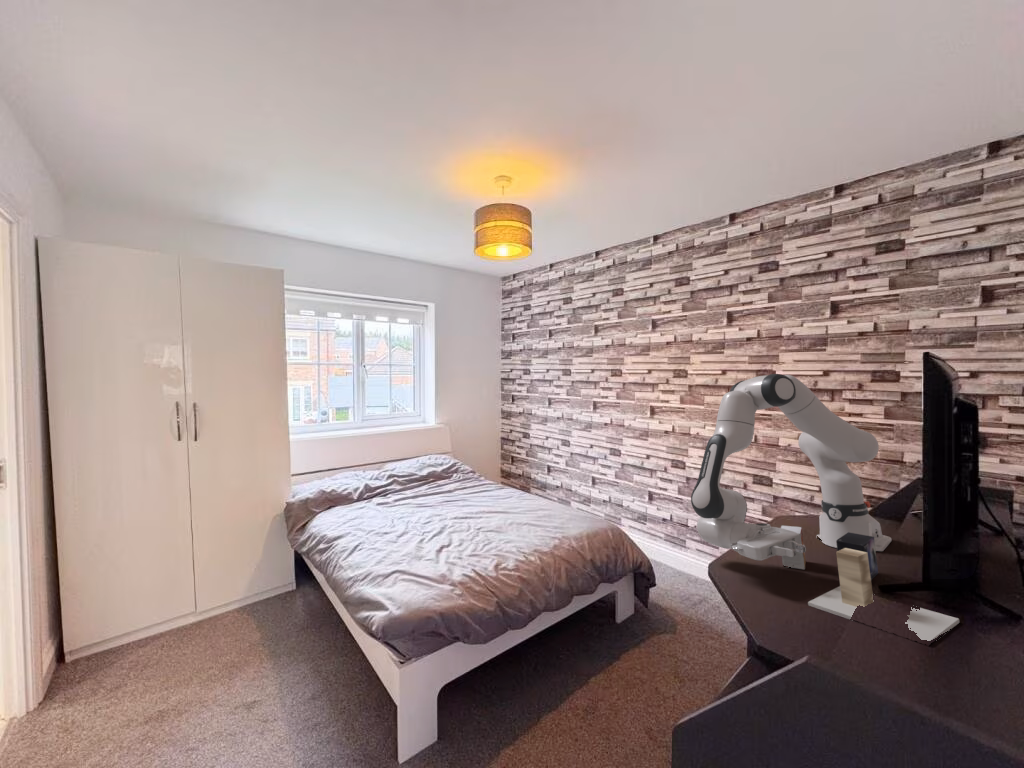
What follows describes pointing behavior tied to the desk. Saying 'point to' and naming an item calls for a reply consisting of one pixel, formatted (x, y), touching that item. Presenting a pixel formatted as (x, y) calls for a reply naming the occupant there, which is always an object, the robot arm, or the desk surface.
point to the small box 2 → (860, 548)
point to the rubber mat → (919, 622)
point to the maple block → (854, 577)
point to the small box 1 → (799, 558)
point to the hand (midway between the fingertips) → (799, 551)
